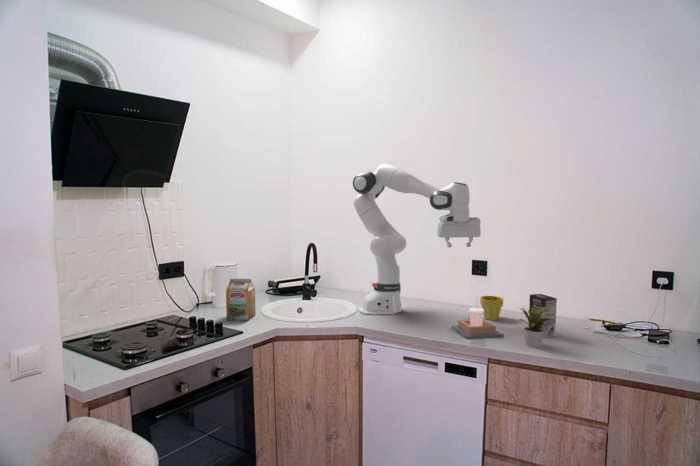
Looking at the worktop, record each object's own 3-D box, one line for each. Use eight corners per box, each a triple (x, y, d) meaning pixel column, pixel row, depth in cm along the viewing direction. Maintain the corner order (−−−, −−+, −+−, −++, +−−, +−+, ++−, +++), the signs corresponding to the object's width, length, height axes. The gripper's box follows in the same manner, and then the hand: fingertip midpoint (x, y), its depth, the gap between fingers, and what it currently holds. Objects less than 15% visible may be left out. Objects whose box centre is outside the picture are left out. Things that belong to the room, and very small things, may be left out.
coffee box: (527, 331, 196) (528, 294, 194) (539, 330, 198) (540, 293, 197) (543, 337, 187) (544, 298, 186) (556, 336, 189) (557, 297, 188)
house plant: (515, 350, 172) (516, 307, 170) (507, 339, 185) (508, 299, 184) (555, 352, 170) (556, 308, 168) (544, 340, 183) (546, 300, 182)
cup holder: (466, 338, 186) (466, 329, 185) (451, 327, 201) (451, 318, 201) (503, 336, 188) (503, 327, 188) (485, 326, 204) (485, 317, 204)
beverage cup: (472, 327, 199) (473, 295, 198) (486, 329, 195) (486, 297, 194) (466, 330, 194) (466, 297, 193) (479, 332, 190) (480, 299, 189)
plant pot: (498, 322, 210) (498, 301, 210) (476, 318, 216) (476, 298, 216) (505, 317, 218) (506, 297, 218) (484, 314, 225) (485, 294, 224)
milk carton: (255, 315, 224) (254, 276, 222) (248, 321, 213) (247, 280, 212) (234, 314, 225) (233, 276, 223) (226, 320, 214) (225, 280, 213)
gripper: (477, 216, 218) (476, 245, 219) (436, 217, 214) (436, 246, 215) (483, 217, 212) (482, 247, 213) (441, 217, 208) (440, 248, 209)
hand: (458, 246), depth 214 cm, fingers open, 8 cm apart
